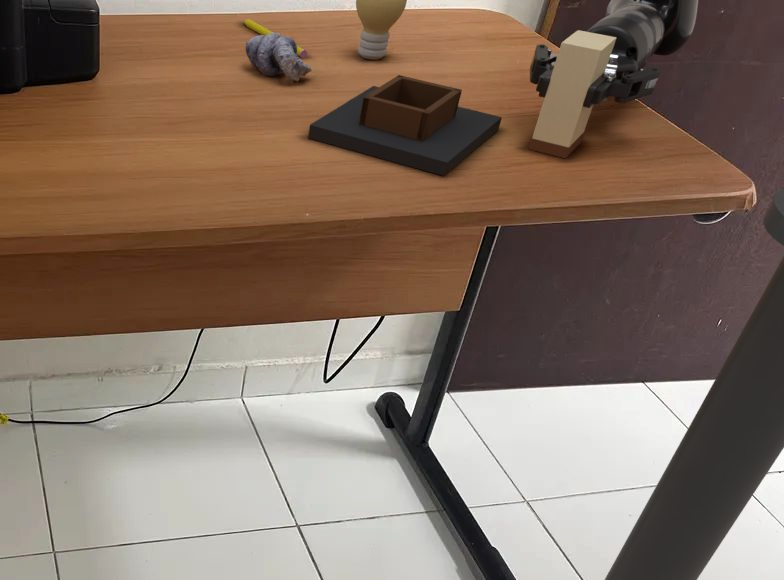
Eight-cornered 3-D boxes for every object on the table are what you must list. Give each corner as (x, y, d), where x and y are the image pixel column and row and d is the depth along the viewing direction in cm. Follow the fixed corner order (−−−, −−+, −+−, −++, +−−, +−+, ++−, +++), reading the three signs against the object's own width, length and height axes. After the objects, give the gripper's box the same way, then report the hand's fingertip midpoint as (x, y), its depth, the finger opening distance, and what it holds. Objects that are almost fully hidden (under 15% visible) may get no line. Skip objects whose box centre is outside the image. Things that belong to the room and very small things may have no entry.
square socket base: (498, 130, 102) (510, 89, 99) (443, 176, 93) (454, 133, 90) (371, 98, 109) (378, 59, 106) (307, 138, 100) (313, 96, 97)
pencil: (306, 57, 120) (307, 49, 120) (300, 58, 120) (301, 50, 119) (246, 23, 131) (246, 16, 131) (240, 24, 131) (240, 16, 130)
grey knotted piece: (306, 93, 114) (245, 75, 119) (326, 52, 112) (264, 36, 118) (288, 73, 109) (226, 56, 114) (308, 30, 108) (245, 15, 113)
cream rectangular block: (580, 142, 100) (617, 37, 93) (565, 158, 97) (602, 50, 89) (544, 133, 102) (577, 29, 94) (527, 149, 99) (560, 42, 91)
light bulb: (363, 66, 118) (378, -18, 111) (338, 51, 122) (351, -31, 115) (404, 61, 120) (421, -22, 113) (378, 47, 124) (393, -34, 117)
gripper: (561, 5, 104) (510, 40, 94) (691, 29, 98) (652, 69, 88) (540, 72, 109) (490, 113, 99) (663, 99, 103) (623, 145, 93)
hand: (566, 92), depth 93 cm, fingers closed on cream rectangular block, 4 cm apart
